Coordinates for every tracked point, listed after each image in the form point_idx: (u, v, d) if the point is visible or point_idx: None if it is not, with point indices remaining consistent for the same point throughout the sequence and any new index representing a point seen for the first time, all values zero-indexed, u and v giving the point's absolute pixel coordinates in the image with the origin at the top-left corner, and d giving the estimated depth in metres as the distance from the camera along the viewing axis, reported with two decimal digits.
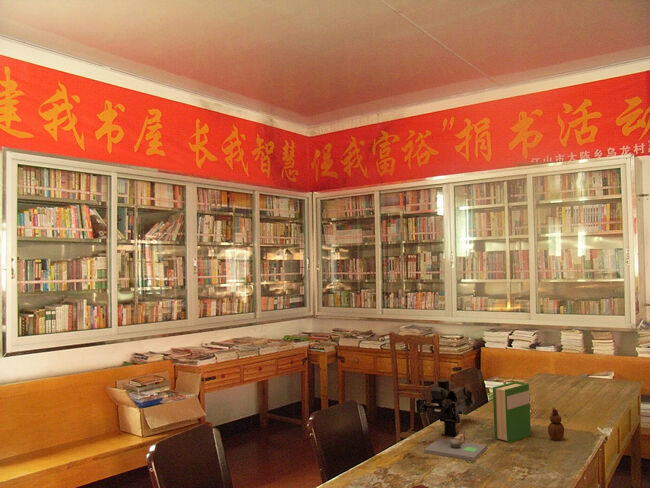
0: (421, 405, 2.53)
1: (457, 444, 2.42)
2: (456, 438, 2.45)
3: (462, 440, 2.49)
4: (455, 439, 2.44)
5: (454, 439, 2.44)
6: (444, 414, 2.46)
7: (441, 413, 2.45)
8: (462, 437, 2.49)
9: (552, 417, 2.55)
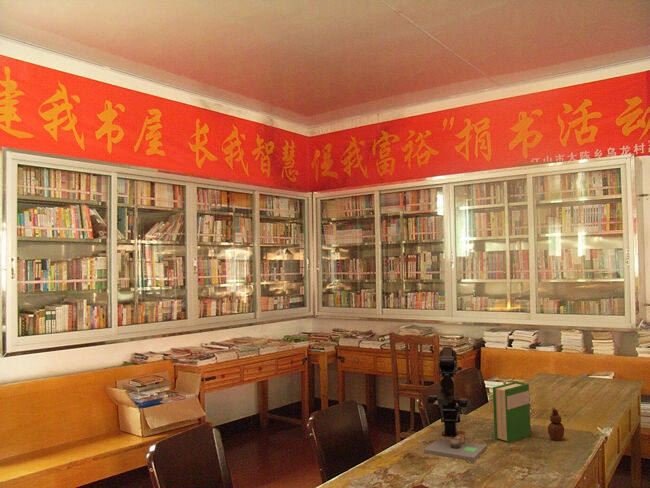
0: (438, 409, 2.54)
1: (457, 444, 2.42)
2: (456, 438, 2.45)
3: (462, 440, 2.49)
4: (455, 439, 2.44)
5: (454, 439, 2.44)
6: (459, 413, 2.52)
7: (457, 418, 2.51)
8: (462, 437, 2.49)
9: (552, 417, 2.55)
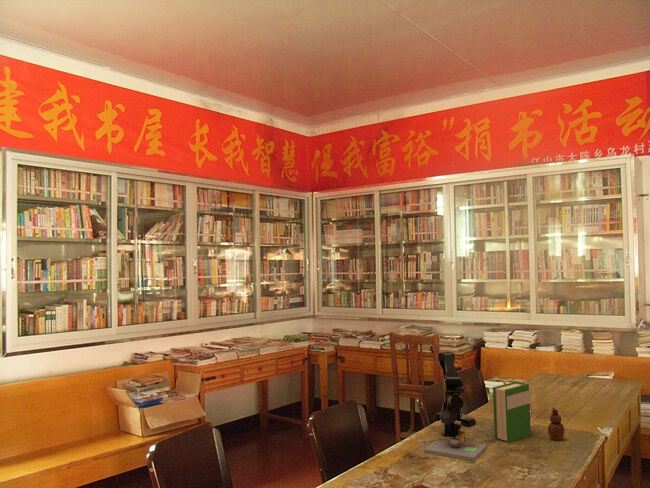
0: (450, 428, 2.51)
1: (457, 444, 2.42)
2: (456, 438, 2.45)
3: (462, 440, 2.49)
4: (455, 439, 2.44)
5: (454, 439, 2.44)
6: (458, 431, 2.51)
7: None
8: (462, 437, 2.49)
9: (552, 417, 2.55)
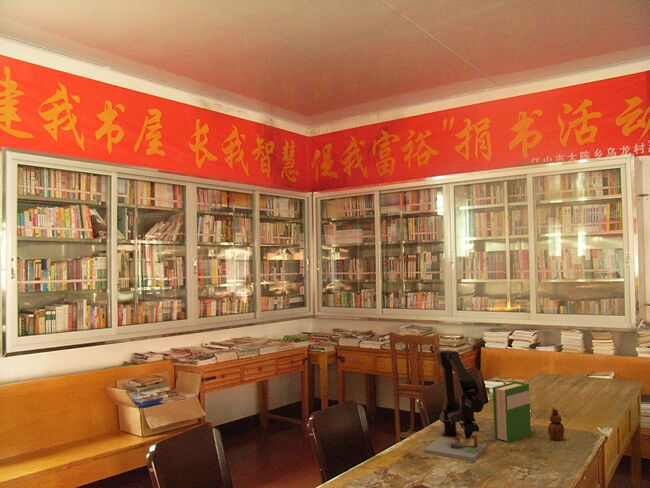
0: None
1: (452, 443, 2.43)
2: (457, 439, 2.44)
3: (470, 444, 2.44)
4: (454, 439, 2.44)
5: (453, 439, 2.45)
6: (470, 435, 2.46)
7: None
8: (470, 441, 2.44)
9: (552, 417, 2.55)
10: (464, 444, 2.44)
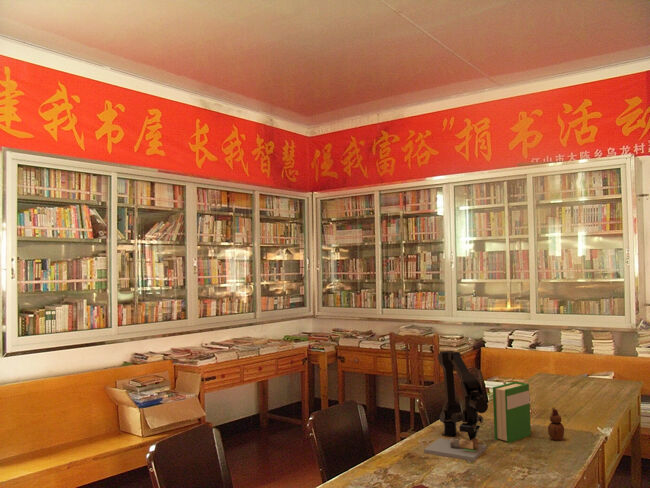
0: None
1: (450, 443, 2.44)
2: (457, 439, 2.44)
3: (469, 446, 2.41)
4: (454, 439, 2.45)
5: (453, 438, 2.45)
6: (473, 437, 2.44)
7: None
8: (469, 443, 2.41)
9: (552, 417, 2.55)
10: (463, 445, 2.42)
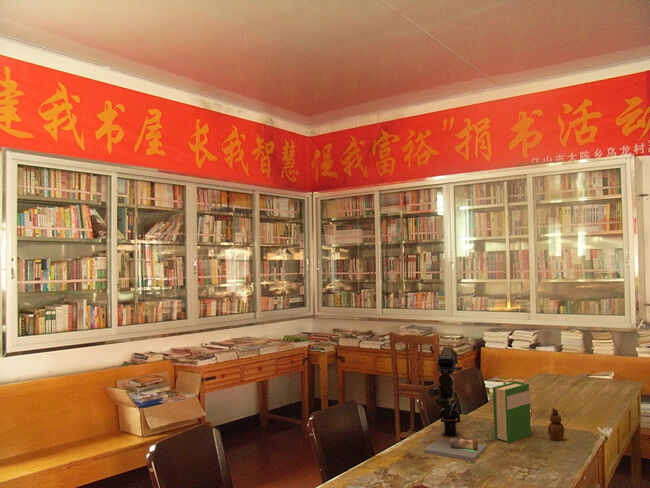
0: None
1: (450, 443, 2.44)
2: (457, 439, 2.44)
3: (469, 446, 2.41)
4: (454, 439, 2.45)
5: (453, 438, 2.45)
6: (449, 410, 2.53)
7: (447, 414, 2.54)
8: (469, 443, 2.41)
9: (552, 417, 2.55)
10: (463, 445, 2.42)
